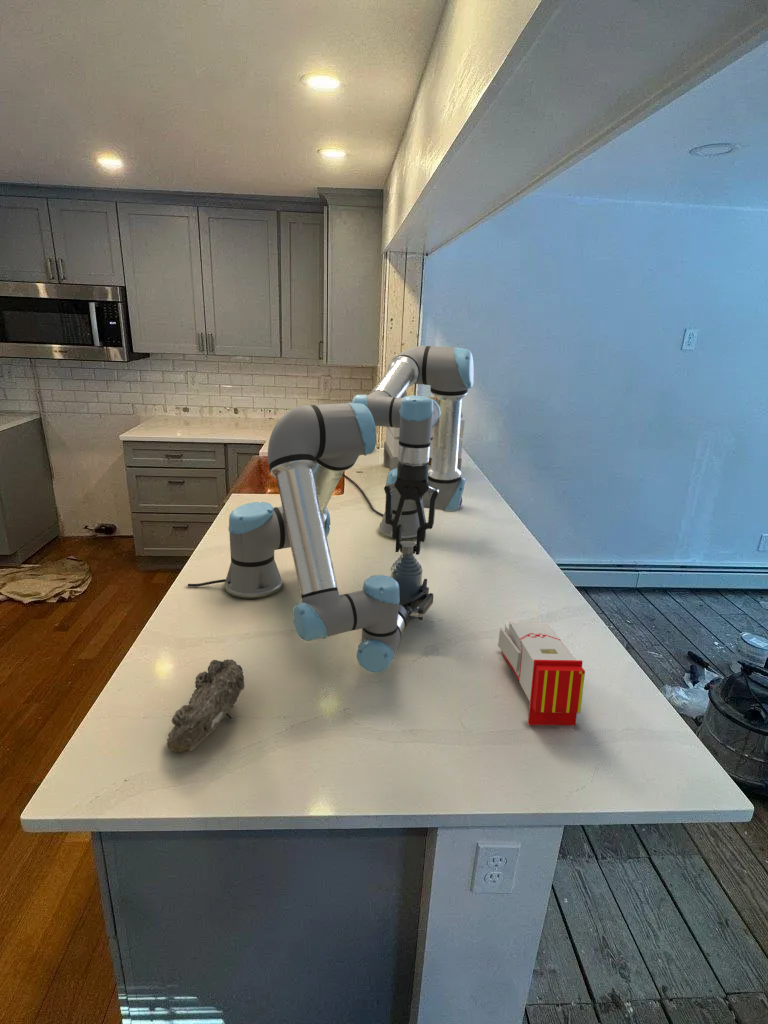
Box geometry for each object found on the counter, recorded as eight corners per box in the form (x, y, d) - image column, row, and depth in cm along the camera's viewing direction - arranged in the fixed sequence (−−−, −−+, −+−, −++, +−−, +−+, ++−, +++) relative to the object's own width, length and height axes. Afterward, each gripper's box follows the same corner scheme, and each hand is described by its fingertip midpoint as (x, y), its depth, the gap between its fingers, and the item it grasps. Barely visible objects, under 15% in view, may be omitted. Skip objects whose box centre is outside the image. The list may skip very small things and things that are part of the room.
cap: (418, 553, 142) (418, 546, 142) (403, 555, 141) (404, 547, 140) (412, 547, 146) (412, 540, 145) (397, 549, 145) (397, 541, 144)
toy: (544, 607, 134) (594, 667, 105) (539, 659, 137) (586, 732, 108) (493, 606, 134) (529, 666, 105) (489, 658, 137) (523, 731, 107)
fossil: (192, 660, 117) (244, 628, 112) (224, 691, 120) (276, 661, 115) (142, 746, 98) (202, 712, 93) (182, 779, 101) (242, 748, 96)
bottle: (389, 602, 153) (392, 538, 147) (419, 603, 153) (424, 540, 147) (388, 617, 146) (391, 551, 139) (419, 619, 145) (424, 553, 139)
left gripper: (345, 630, 134) (370, 587, 155) (433, 645, 130) (447, 599, 151) (346, 602, 132) (371, 562, 152) (435, 616, 127) (449, 573, 148)
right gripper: (451, 461, 138) (443, 549, 145) (381, 455, 141) (377, 541, 149) (448, 469, 131) (440, 561, 139) (374, 462, 134) (370, 552, 142)
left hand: (409, 581), depth 152 cm, fingers closed on bottle, 8 cm apart
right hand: (407, 551), depth 144 cm, fingers open, 4 cm apart
